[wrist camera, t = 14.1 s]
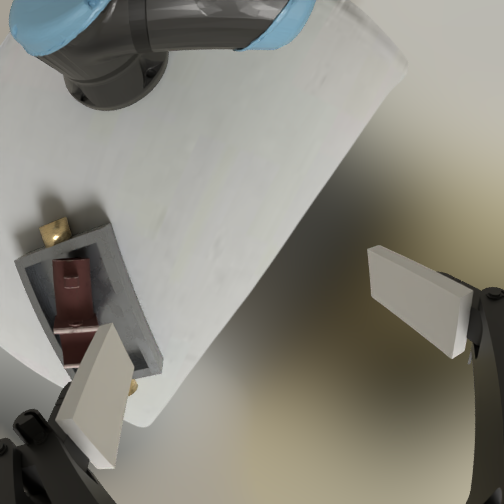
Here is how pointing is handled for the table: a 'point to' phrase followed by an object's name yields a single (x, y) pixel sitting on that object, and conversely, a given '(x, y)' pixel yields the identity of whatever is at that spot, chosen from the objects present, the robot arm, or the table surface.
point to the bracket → (73, 308)
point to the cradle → (103, 292)
